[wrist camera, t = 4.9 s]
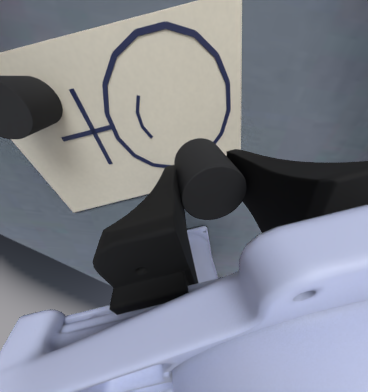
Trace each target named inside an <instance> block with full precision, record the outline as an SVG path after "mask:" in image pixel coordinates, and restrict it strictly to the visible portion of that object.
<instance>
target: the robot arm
mask: <svg viewBox="0 0 368 392" xmlns="http://www.w3.org/2000/svg"><path fill="white" fill-rule="evenodd" d="M226 152H227V157H228V158H229V160H230V161H231V162H232V163H233V164H234V165H235V166H236V167H237V169H238V170H239V171H240V172H241V173H242V174H243V176H244V178H245V180H246V187H247V188H246V194H245V197H244V199H243V202H244V204H245V205H246V207H247V208H248V209H249V211H250V212H251V214H252V215H253V217H254V219H255V221H256V222H257V224H258V226H259V228H260V230H261V232H262V233H261V234H259V235H257V236H256V237H255V238H254V239H253V240H251V241H250V242H249V243H248V244H247V245H246V246H245V248H244V250H243V252H242V254H241V257H240V259H239V271H238V272H235V273H233V274H231V275H228V276H226V277H222V278H218V276H217V272H216V269H215V266H214V263H213V259H212V253H211V248H210V242H209V236H208V231H207V227H206V226H202V227H198V228H194V229H190V230H187V228H186V220H185V210H184V207H183V204H182V200H181V195H180V191H179V186H178V179H177V174H176V170H175V166H174V165H171V166H167V167H165V168H164V170H163V173H162V175H161V177H160V179H159V180H158V182H157V184H156V185H155V187H154V188H153V190H152V191H151V192H150V194H149V195H148V196H147V197H146V198H145V199H144V200H143V201H142V202H141V203H140V204H139V205H138V206H137V207H136V208H135V209H134V210H132V211H131V212H130V213H129V214H127V215H126V216H124V217H123V218H122V219H120V220H119V221H117V222H116V223H114V224H112V225H111V226H109V227H108V228H106V229H104V230H103V232H102V235H101V238H100V240H99V243H98V246H97V249H96V253H95V256H94V259H93V265H94V268H95V270H96V271H97V272H98V273H99V274H100V275H101V276H102V277H103V278H104V279H105V280H106V281H107V282H108V283H109V284H110V285H111V286H112V287H113V293H112V298H111V303H110V305H108V306H104V307H100V308H96V309H92V310H88V311H84V312H80V313H75V314H71V315H67V316H65V315H64V314H63V313H62V312H60V311H57V310H51V309H50V310H44V311H40V312H36V313H32V314H27V315H23V316H21V317H20V318H19V319H18V321H17V323H16V325H15V326H14V328H13V330H12V332H11V334H10V335H9V337H8V339H7V341H6V342H5V344H4V346H3V348H2V349H1V351H0V392H368V161H363V162H346V163H314V162H299V161H290V160H282V159H276V158H271V157H267V156H262V155H258V154H255V153H251V152H247V151H243V150H239V149H234V150H230V151H226Z"/></svg>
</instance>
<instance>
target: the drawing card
mask: <svg viewBox="0 0 368 392" xmlns="http://www.w3.org/2000/svg"><path fill="white" fill-rule="evenodd" d="M241 56H242V0H198V1H194V2H190V3H187V4H183V5H179V6H175V7H171V8H168V9H164V10H160V11H156V12H153V13H149V14H145V15H141V16H137V17H134V18H130V19H126V20H122V21H118V22H115V23H111V24H107V25H103V26H99V27H96V28H92V29H88V30H84V31H81V32H77V33H73V34H69V35H65V36H62V37H58V38H54V39H50V40H46V41H43V42H39V43H35V44H31V45H27V46H24V47H20V48H16V49H12V50H8V51H5V52H1V53H0V76H31V77H35V78H38V79H40V80H42V81H43V82H45V83H46V84H47V85H49V86H50V87H51V88H52V89H53V90H54V91H55V93H56V94H57V95H58V97H59V99H60V101H61V104H62V108H63V113H62V117H61V119H60V120H59V121H58V122H57V123H55V124H53V125H51V126H49V127H47V128H44V129H42V130H40V131H38V132H36V133H34V134H31V135H29V136H27V137H25V138H22V139H11V140H12V141H13V142H14V143H15V145H16V146H17V147H18V148H19V149H20V150H21V152H22V153H23V154H24V155H25V156H26V158H27V159H28V160H29V161H30V162H31V163H32V165H33V166H34V167H35V168H36V169H37V170H38V172H39V173H40V174H41V175H42V176H43V177H44V179H45V180H46V181H47V182H48V183H49V184H50V186H51V187H52V188H53V189H54V190H55V191H56V193H57V194H58V195H59V196H60V197H61V199H62V200H63V201H64V202H65V203H66V204H67V206H68V207H69V208H70V209H71V210H72V211H73V213H74V212H78V211H82V210H86V209H90V208H94V207H98V206H102V205H106V204H110V203H114V202H118V201H122V200H126V199H130V198H134V197H138V196H142V195H146V194H150V192H151V191H152V190H153V188H154V187H155V185H156V184H157V182H158V180H159V179H160V177H161V175H162V173H163V170H164V168H165V167H167V166H171V165H174V160H175V156H176V153H177V152H178V150H179V149H180V147H181V146H182V145H184V144H185V143H186V142H188V141H190V140H193V139H197V138H204V139H208V140H211V141H212V142H214V143H215V144H216V145H217V146H218V147H219V148H220V149H221V151H222V152H223V153H224V154H225V155H226V156H227V152H226V151H230V150H234V149H239V150H241Z"/></svg>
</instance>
